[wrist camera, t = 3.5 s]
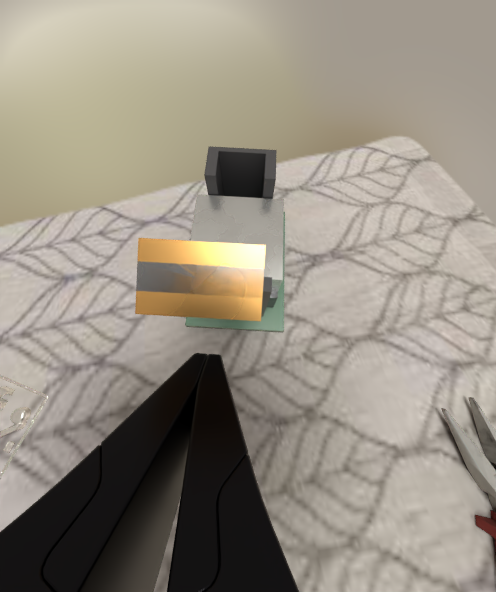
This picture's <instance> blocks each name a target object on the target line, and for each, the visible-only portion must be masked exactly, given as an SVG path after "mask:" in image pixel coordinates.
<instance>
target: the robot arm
mask: <svg viewBox="0 0 496 592" xmlns="http://www.w3.org/2000/svg"><path fill="white" fill-rule="evenodd" d="M180 496H181V500H180ZM179 500H180V506H179V513H178V520H177V527H176V534H175V540H174V547H173V554H172V561H171V567H170V574H169V581H168V588H167V592H299V590H298V588H297V585H296V583H295V581H294V578H293V576H292V573H291V571H290V568H289V566H288V563H287V561H286V558H285V556H284V553H283V551H282V548H281V546H280V544H279V541H278V539H277V536H276V534H275V531H274V529H273V526H272V523H271V521H270V518H269V515H268V513H267V510H266V507H265V504H264V502H263V499H262V496H261V493H260V490H259V487H258V483H257V480H256V477H255V474H254V471H253V467H252V464H251V460H250V456H249V455H248V450H247V446H246V443H245V439H244V436H243V432H242V429H241V425H240V421H239V418H238V414H237V411H236V407H235V404H234V400H233V397H232V393H231V389H230V386H229V382H228V379H227V375H226V372H225V368H224V365H223V361H222V358H221V355H216V354H209V355H207V354H200V353H196V354H194V355H193V356H192V357H191V358H189V359H188V360H187V361H186V362H185V363H184V364H183V365H182V366H181V367H180V368H179V369H178V370H177V371H176V372H175V373H174V374H173V375H172V376H171V377H170V378H168V379H167V380H166V381H165V382H164V383H163V384H162V385H161V386H160V387H159V388H158V389H157V390H156V391H155V392H154V393H153V394H152V395H151V396H150V397H149V398H148V399H146V400H145V401H144V402H143V403H142V404H141V405H140V406H139V407H138V408H137V409H136V410H135V411H134V412H133V413H132V414H131V415H130V416H129V417H128V418H127V419H126V420H124V421H123V422H122V423H121V424H120V425H119V426H118V427H117V428H116V429H115V430H114V431H113V432H112V433H111V434H110V435H109V436H108V437H107V438H106V439H105V440H104V441H102V443H101V445H98V446H97V447H96V448H95V449H94V450H93V451H92V452H91V453H90V454H89V455H88V456H87V457H86V458H84V459H83V460H82V461H81V462H80V463H79V464H78V465H77V466H76V467H75V468H74V469H73V470H71V471H70V472H69V473H68V474H67V475H66V476H65V477H64V478H63V479H62V480H61V481H60V482H58V483H57V484H56V485H55V486H54V487H53V488H52V489H50V490H49V491H48V492H47V493H46V494H45V495H43V496H42V497H41V498H40V499H39V500H38V501H36V502H35V503H34V504H33V505H32V506H31V507H29V508H28V509H27V510H26V511H25V512H24V513H22V514H21V515H20V516H19V517H18V518H17V519H15V520H14V521H13V522H12V523H11V524H9V525H8V526H7V527H6V528H5V529H3V530H2V531H1V532H0V592H153V591H154V588H155V584H156V581H157V577H158V574H159V570H160V567H161V563H162V559H163V556H164V552H165V549H166V545H167V542H168V538H169V535H170V531H171V528H172V524H173V521H174V517H175V514H176V510H177V507H178V503H179Z"/></svg>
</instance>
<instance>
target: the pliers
mask: <svg viewBox="0 0 496 592" xmlns="http://www.w3.org/2000/svg"><path fill="white" fill-rule="evenodd" d="M469 401H470V405H471V409H472V413H473V416H474V420H475V424H476V427H477V431H478V435H479V439H480V442H481V445H482V448H483V451H484V453H485V455H484V454H483V453H482V452H481V451H480V449H479V448H478V447H477V446H476V445H475V443H474V442H473V441H472V440H471V439H470V437H469V436H468V435H467V434H466V433H465V432H464V430H463V429H462V428H461V427H460V426H459V424H458V423H457V422H456V421H455V420H454V418H453V417H452V416H451V415H450V414H449V412H448V411H447V410H446V409H443V408H442V412H443V414H444V416H445V418H446V421H447V423H448V425H449V428H450V430H451V432H452V434H453V437H454V439H455V441H456V443H457V446H458V448H459V450H460V453H461V455H462V457H463V459H464V462H465V464H466V466H467V468H468V470H469V472H470V473H471V475H472V477H473V478H474V480H475V481H476V483H477V484H478V486H479V487H480V489H481V490H483V491H484V492H486V493H488V497H489V500H490V502H491V505H492V508H493V510H491V518H487V517H482V516H478V515H475V517H476V525H477V526H478V527H479V528H481V529H482V530H484V531H485V532H487V533H488V534H490V535H491V536H492V537H494V540H495V550H496V470H495V469H494V467H493V466H492V465H491V463H494V464H495V465H496V430H495V429H494V427H493V426H492V425H491V423H490V422H489V420H488V419H487V417H486V416H485V414H484V413H483V411H482V410H481V408H480V407H479V405H478V404H477V403H476V401H475V400H474V398H471V397H470V398H469ZM485 456H486V457H485ZM490 462H491V463H490Z"/></svg>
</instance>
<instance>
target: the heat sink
mask: <svg viewBox="0 0 496 592" xmlns="http://www.w3.org/2000/svg"><path fill="white" fill-rule="evenodd" d="M283 220H284V199H267V198H249V197H232V196H214V195H197V199H196V205H195V212H194V218H193V224H192V231H191V237H190V241H201V242H218V243H235V244H253V245H266V247H265V263H264V277H272V292H271V295H270V298H269V301H268V304H267V307H270V308H273V307H274V305H275V303H276V300H277V298H278V290H279V288H280V285H281V283H282V281H283Z"/></svg>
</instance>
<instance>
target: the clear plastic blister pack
mask: <svg viewBox="0 0 496 592" xmlns="http://www.w3.org/2000/svg"><path fill="white" fill-rule="evenodd" d="M3 377H4V376H2V375H0V378H1V379H4V380H6V381H8V382H11V383H13V384H15V385H17V386H20V387H22V388H24V389H27V390H29V391H31V392H33V393H36V394H38V395H40V396H42V397H44V398H45V399H44V401H43V402H42V404H41V406H40V408H39V409H38V411H37V413H36V414H35V416H34V418H33V419H32V421H31V423H30V425H29V426H28V428H27V430H26V431H25V433H24V435H23V436H22V438H21V440H20V441H19V443H18V445H19V446H18V445H17V446H16V448H15V450H14V452H13V453H12V455H11V457H10V458H9V460H8V462H7V463H6V465H5V467H4V468H3V470H2V472H3V473H2V472H1V474H0V479H1V477H2V475H3V474H4V472H5V470H6V469H7V467H8V465H9V464H10V462H11V460H12V458H13V457H14V455H15V453H16V452H17V450H18V448H19V447H20V445H21V443H22V442H23V440H24V438H25V436H26V435H27V433H28V431H29V430H30V428H31V426H32V425H33V423H34V421H35V419H36V418H37V416H38V414H39V413H40V411H41V409H42V408H43V406H44V404H45V402H46V401H47V399H48V397H49V396H48V395H45V394H43V393H41V392H39V391H36V390H34V389H32V388H30V387H27V386H25V385H23V384H20V383H18V382H16V381H13V380H11V379H9V378H6V377H4V378H3ZM14 382H15V383H14ZM25 387H26V388H25ZM14 391H15V390H14V389H12V388H9V387H7V386H6V387H0V408H1V409H3V408H4V407H5V405H6V403H7V402H8V401H7V400H5V399H3V398H1V397H2V396H4V395H6V394H9V395H12V394H13V392H14ZM35 391H36V392H35ZM30 415H31V410H30V409H29V408H28V407H23V408H18V409H16V410H15V411H13V413H12V414H11V421H12V422H13V423H15V424H16V425H14V426H12V427H9V428H7V429H5V430H3V431H0V438H2V437H3V436H5V435H7V434H9V433H11V432H14V431H17V430H21V429H23V428H24V426H25V425H26V423H27V420H28V419H29V418H30ZM33 420H34V421H33ZM14 444H15V443H14V442H12V441H8V443H7V445H6V446H5V448H4V450H3V451H5V452H7V453H10V451H11V449H12V448H13V446H14Z"/></svg>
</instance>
